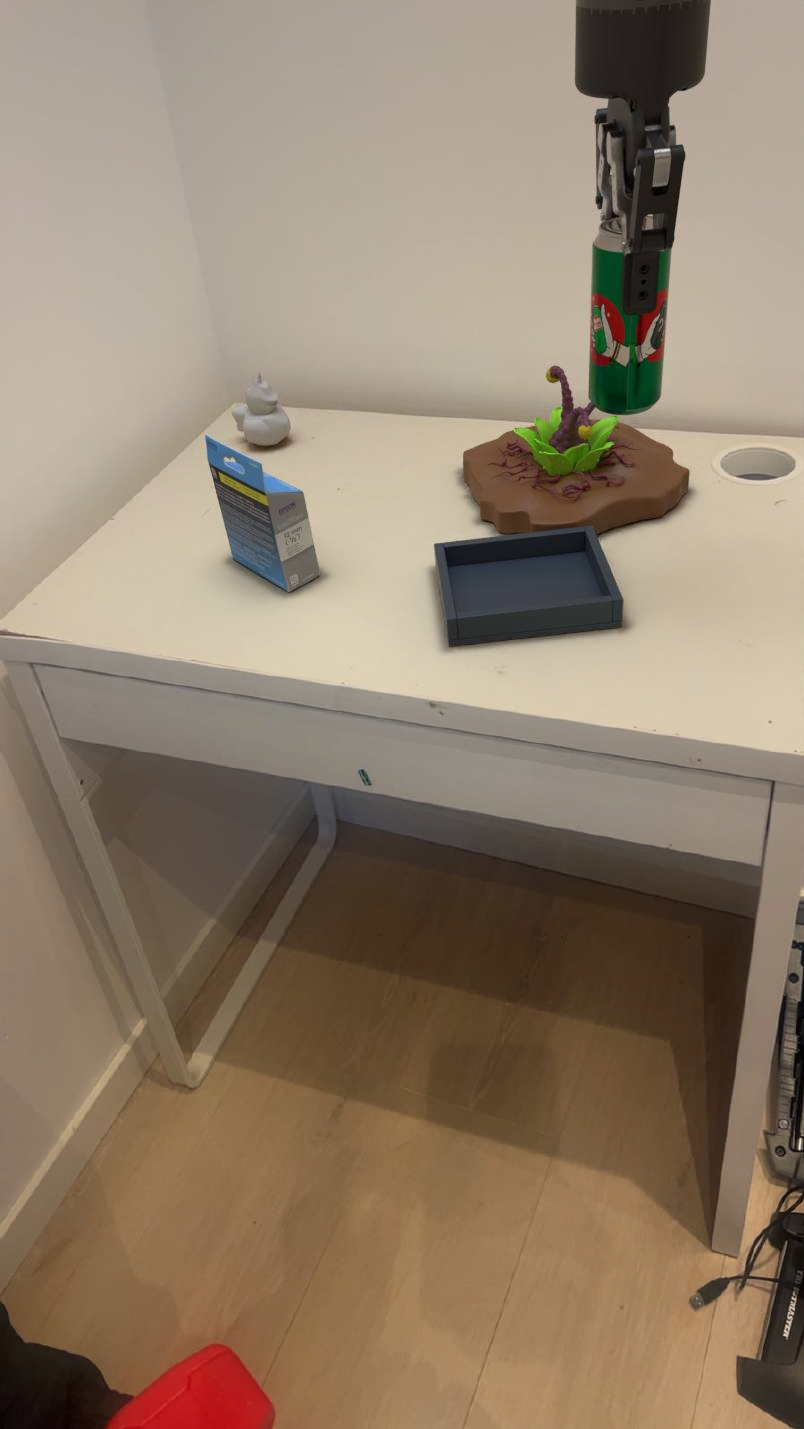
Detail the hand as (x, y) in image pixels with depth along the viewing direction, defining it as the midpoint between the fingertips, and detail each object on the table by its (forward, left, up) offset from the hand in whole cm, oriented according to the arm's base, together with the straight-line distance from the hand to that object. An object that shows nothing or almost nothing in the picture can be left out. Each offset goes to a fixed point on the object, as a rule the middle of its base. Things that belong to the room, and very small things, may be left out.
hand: (628, 297), depth 69 cm
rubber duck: (+30, -37, -24) cm, 54 cm away
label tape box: (+28, -10, -24) cm, 38 cm away
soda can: (0, 0, -8) cm, 8 cm away
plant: (0, -19, -24) cm, 31 cm away
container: (+7, -1, -24) cm, 25 cm away
